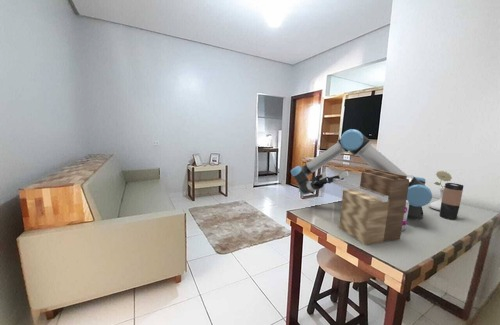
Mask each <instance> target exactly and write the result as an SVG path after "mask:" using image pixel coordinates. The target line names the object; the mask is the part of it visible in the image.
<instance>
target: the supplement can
mask: <svg viewBox="0 0 500 325" xmlns="http://www.w3.org/2000/svg"><path fill="white" fill-rule="evenodd" d="M408 209H409V202H408V200H406V206H405V212H404V218H403V224H402V230H401V232H404V230H406V226H407V222H408V218H407V215H408Z"/></svg>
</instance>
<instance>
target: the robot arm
mask: <svg viewBox="0 0 500 325" xmlns="http://www.w3.org/2000/svg"><path fill="white" fill-rule="evenodd" d="M371 143H372V142H371V140H370V139H369V138H368V137H366V136H365V135H364V134H363V133H362V132H361V131H359V129H354V128H353V129H352V128H349V129H347V130H346V131H344V132H343V133H342V134H341V136H340V138H339V139H337V142H336V143H335V144H333V145H331V147H329V148H328V149H326V150H325V151H323V152H322V153H320V154H319V155H317V156H316V157H314V158H313V159H311V160H310V161H309V162H308V163H306V164H305V165H303V166H302V167H301V166H300V165H297V166H295V167H293V168H292V169H290V174H291V176H292V177H293V178H294V180H295V181H296V183H297V185H298V191H299V193H300V194H302V195H308V194H310V193H313V192H314V193H315V192H316V191H318V190H320V189H323V187H324V185H327V184H333V179H337V178H338V179H341V180H344V179H345V178H347V177H350V174H349V172H348V170H346V171H343V172H341V173H339V174H338V175H334V176H328V172H327V171H324V172H322V173H320V174H318V175H316V176H314V175H313V176H312V177H311V178H310V179H309V178H308V176H310V175H311V174H313V173H314V172H316V171H317V170H319V169H320V168H322V167H324V166H325V165H326V164H328V163H329V162H332V161H333V160H334V159H336V158H337V157H339V156H341V155H342V154H343V153H348V152H350V154H352V156H355V157H360V159H362V160H363V161H364V162H365V163H367V165H369V166H370V167H371V168H372V170H373V169H378V170H382V171H387V172H391V173H396V174H400V175H405V176H407V179H410V181H409V187H408V193H407V200H408V202H409V209H408V215H407V219H412V220H423V218H424V210H423V207H425V206H427V205H429V204H430V203H431V201H432V199H433V194H432V190H431V189H430V188H429V187H427V186H426V185H425V184H426V179H425V178H424V177H419V176H414V175H409V174H406V173H405V172H404V171H403V170H402V169H401V168H399V166H397V165H396V164H395V163H393V161H391V160H389V158H387V157H386V156H385V155H383V153H381V152H380V151H379V150H378V149H377V148H375V147H374V146H373V145H372V144H371Z"/></svg>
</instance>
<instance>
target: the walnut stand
mask: <svg viewBox="0 0 500 325" xmlns="http://www.w3.org/2000/svg"><path fill="white" fill-rule="evenodd" d="M409 181H410V179H407V176H405V175H400V174H396V173H391V172H387V171H382V170H378V169H373V168H372V169H369V168H365V170H364V171H362V172H361V175H360V184H359V186H361V187H364V188H367V189H370V190H373V191H376V192H379V193H382V194H384V195H387V196H388V202H380V201H378V200H375V199H372V198H370V197H367V196H365V195H362V194H359V193H357V192H354V191H352V190H349V189H343V190H342V196H341V197H342V198H341V206H340V215H339V223H338V228H339V229H340V230H342V231H344V232H345V233H347V235H349V236H351V237H353V238H354V239H355V240H357V241H358V242H360V243H362V244H363V245H365V246H367V245H372V244H378V243H379V244H380V243H384V242H390V241H396V240H397V241H398V240H400V239H401V235H402V231H401V230H402V224H403V218H404V212H405V206H406V200H407V193H408V187H409Z"/></svg>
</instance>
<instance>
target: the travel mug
mask: <svg viewBox="0 0 500 325" xmlns="http://www.w3.org/2000/svg"><path fill="white" fill-rule="evenodd" d="M444 184H445V185H444V186H445V187H443V188H444V192H443V197H442V202H441V208H440V210H439V217H440V218H443V219H446V220H449V221H456V220H457V218H458V214H459V210H460V206H461V202H462V201H461V200H462V197H463V192H464V186H465V185H463V184H459V183H456V182H455V183H454V182H446V183H444Z"/></svg>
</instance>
